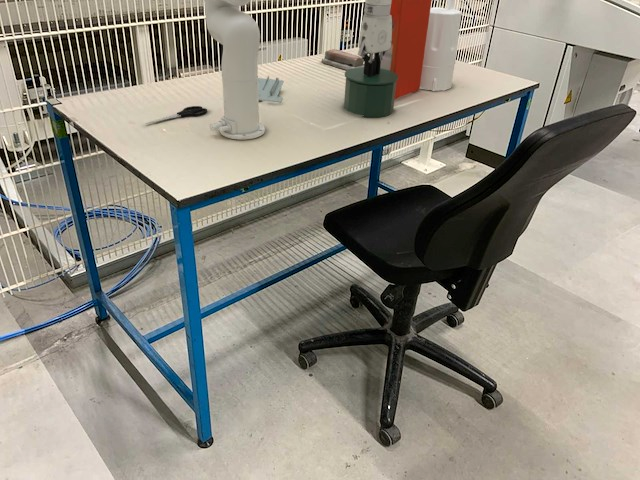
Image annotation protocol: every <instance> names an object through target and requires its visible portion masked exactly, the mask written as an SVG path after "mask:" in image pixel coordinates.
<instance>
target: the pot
mask: <svg viewBox="0 0 640 480" xmlns="http://www.w3.org/2000/svg"><path fill="white" fill-rule="evenodd" d="M396 82H397V81H396ZM396 82H394V83H390V84H384V85H368V84H362V83H357V82H354V81H351V80H349V79H347V78H346V77H345V84H344V85H345V86H344V99H343V108H344V109H345V110H346V111H347V112H348V113H351V114H354V115H357V116H361V118H369V119H377V118H378V119H379V118H385V117H388V116H390V115H391V114H392V113H393V111H394V106H395V105H394V104H395V99H394V98H395V90H396Z"/></svg>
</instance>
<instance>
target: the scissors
mask: <svg viewBox="0 0 640 480" xmlns="http://www.w3.org/2000/svg"><path fill="white" fill-rule="evenodd" d="M207 113H208V109H207V108H203V107H202V106H201V105H194V106H193V105H192V106H187V107H184V108H183V109H182V110H181V111H179V112H176V114H172V115H169V116H166V117H163V118H159V119H156V120H153V121H149V122H146V123H145V125H148V124H152V123H157V122H161V121H167V120H171V119H176V118H179V117H180V118H182V119H183V118H188V117H189V118H190V117H201V116H204V115H206V114H207Z"/></svg>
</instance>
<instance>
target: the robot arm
mask: <svg viewBox="0 0 640 480" xmlns="http://www.w3.org/2000/svg"><path fill="white" fill-rule="evenodd" d="M250 2H251V0H204V14H205V22H206V28H207V32H208V34H209V35H210V37H211V38H212V39H213V40H214V41H216V42H217V43H219V44H220V45H222V55H221V64H220V65H221V67H220V68H221V69H220V70H221V80H222V97H223V115H224V116H223V115H222V116H221V117H220V120H219V121H218V122H214V123H211V124H209V130H210V131H211V132H215V131H219V133H220V134H221V135H222V136H223V137H225V138H227V139H232V140H240V141H243V140H252V139H256V138H259V137H262V136H263V135H264V134H265V132H266V127H265V125H264V124H263V123H261V122H260V106H259V105H260V104H259V102H260V101H259V98H258V78H259V67H258V66H259V64H258V63H259V62H258V61H259V51H260V43H261V33H260V32H261V31H260V28H259V25H258V23H257V22H256V20H255V19H254V18H253V17H252V16H251V15H249V14H248V13H246V12H244V11H242V10H240V7H242V6H245V5H247V4H249V3H250ZM391 2H392V0H365V1H364V9H363V13H364V14H363V16H362V19H361V26H360V31H359V40H358V52H357V56H359V57H362V58H363V61H364V63H363V64H364V75H367V76H372V74H373V63H372V60H373V59H377V66H376V74H380V66H381V61H382V59H383V56H384V54H385V53H386V52H387V51H388V50H389V49H390V47H391V40H392V17H391V15H390V11H391Z"/></svg>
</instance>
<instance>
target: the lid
mask: <svg viewBox="0 0 640 480" xmlns="http://www.w3.org/2000/svg"><path fill="white" fill-rule="evenodd" d="M372 63H373V74H372V76H367V75H364V67H359V68H352V69H349V70H345V72H344V78H345V79H346V78H347V79H349V80H351V81H354V82H357V83H362V84H368V85H384V84H390V83H394V82H396V81H397V80H398V75H397V74H396V73H394V72H392V71H389V70H386V69H381V68H380V74H376V66H377V59H374V58H373V60H372Z"/></svg>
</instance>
